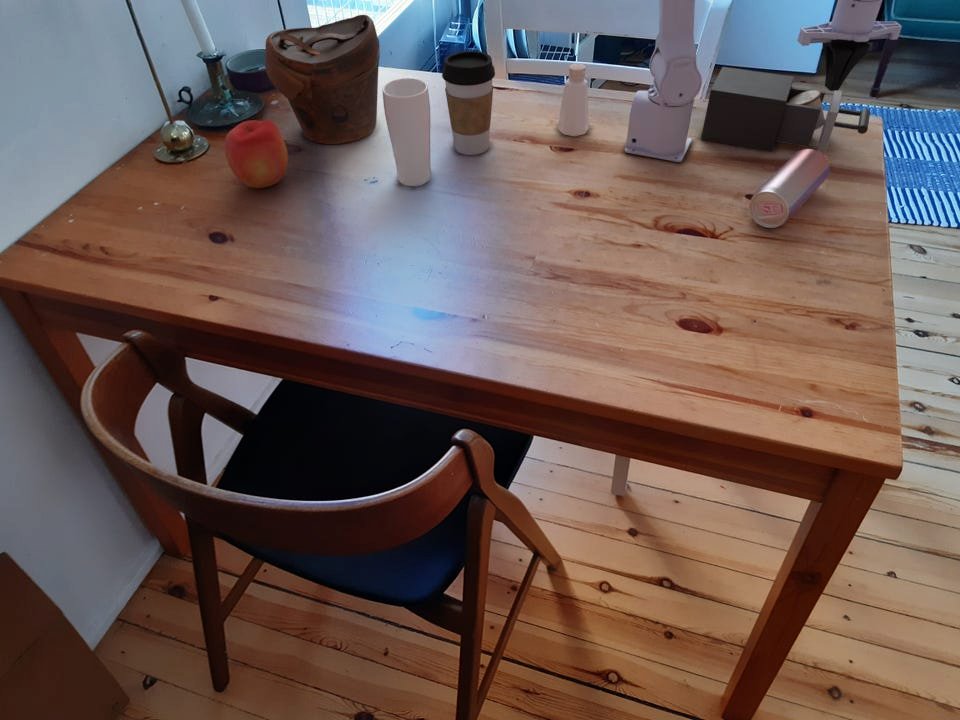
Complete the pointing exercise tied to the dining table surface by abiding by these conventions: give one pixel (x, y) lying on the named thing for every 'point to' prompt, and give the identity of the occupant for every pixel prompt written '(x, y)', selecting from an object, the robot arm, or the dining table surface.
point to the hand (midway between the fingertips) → (831, 88)
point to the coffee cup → (469, 99)
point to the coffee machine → (746, 108)
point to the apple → (256, 153)
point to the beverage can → (789, 188)
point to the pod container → (810, 103)
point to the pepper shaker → (574, 103)
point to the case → (328, 77)
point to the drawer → (815, 120)
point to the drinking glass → (409, 128)
